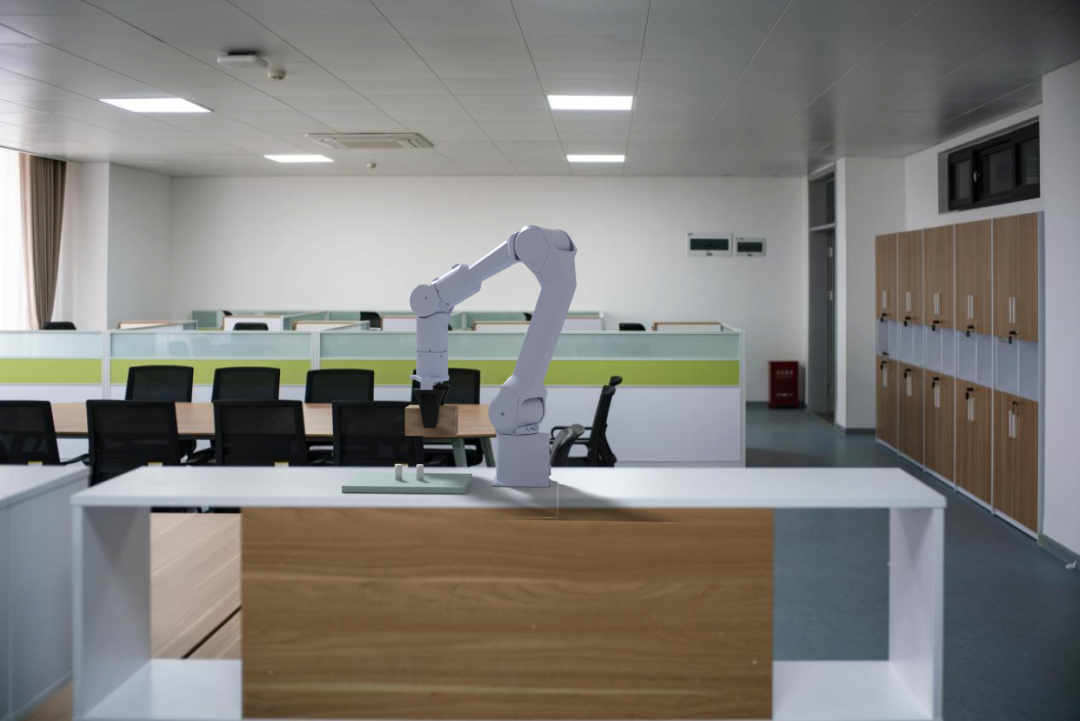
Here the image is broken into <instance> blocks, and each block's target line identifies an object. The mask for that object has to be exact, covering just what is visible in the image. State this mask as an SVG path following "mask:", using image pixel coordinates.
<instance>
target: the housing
mask: <svg viewBox="0 0 1080 721" xmlns="http://www.w3.org/2000/svg"><path fill="white" fill-rule="evenodd" d="M458 433H459V406H458V405H456V404H455V405H445V404H444V405H440V408H439V414H438V421H437V425H436V428H424V426H423V422H422V417H421V411H420V407H419V404H409V405H407V406H406V407H404V436H405V437H406V436H407V437H410V436H411V437H416V436H417V437H456V436H457V435H458Z"/></svg>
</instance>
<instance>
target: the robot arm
mask: <svg viewBox="0 0 1080 721" xmlns="http://www.w3.org/2000/svg"><path fill="white" fill-rule="evenodd" d="M577 252H578V248H577V247H576V245H575V243H574V241H573V238H572V237H571V236H570V235H569V234H568V232H566V230H565V231H564V230H563V229H557V228H556V229H553V228H547V227H541V226H539V225H533V224H530V225H527V226H524V227H522V228H521V229H520V230H519V231H516V232H514V233H511V234H510V235H509V237H508V238H507V239H506V240H504V241H503V242H502V243H501V244H499V245H498V246H497V247H495V248H494V249H493V250H491V251H489V253H487V254H486V255H484V256H482V257H481V258H480V259H479V260H477V261H475V263H473V264H468V263H455V264H453V265H451V267H450V268H451V270H450V271H448V272H446V273H445V274H443V275H442V276H440V277H435V278H433V279H432V282H431V284H427V283H420V284H417V286H416V287H414V289H413V290H412V292H411V294H410V296H409V306H410V308H411V311H412V312H413V313H414V315H416V322H415V323H416V325H415V326H416V327H415V328H416V331H415V332H416V335H415V336H416V340H415V341H416V343H415V344H416V367H415V368H416V370H415V371H416V373H415V374H411V375H410V376H409V379H410V380H415V381H417V382H419V383H420V386H419V387H418V388H417V387H416V388H415V387H414V388H413V389H412V392H413V395H414V397H415V399H416V401H417V405H419V407H420V411H421V417H422V422H423V426H424V428H436V425H437V421H438V414H439V408H440V405H445V402H446V398H447V397H448V393H449V391H450V389H451V384H443V383H444V382H446V381H449V380H450V375H449V324H450V321H451V320H450V318H451V314H452V313H453V311H454V309H455V307H457V305H459V304H460V303H462V302H464V301H466V300H467V299H469V298H471V297H473V296H474V295H475V294H478V293H479V292H480V291H481V288H482V283H483V282H484V281H486V280H487V279H490V278H492V277H493V276H495V275H497V274H499V273H501V272H502V271H505V270H506V269H509V268H510V267H512V266H513V265H516V264H518V263H523V264H524V265H525V267H526V268H527V269H528V270H529V271H530V272H532V274H533V275H534V277H535V278H536V279H537V282H538V283H539V284H538V285H540V288H541V289H540V292H539V295H538V298H537V300H536V303H535V304H536V305H535V307H534V310H533V313H532V317H531V318H530V322H529V324H528V326H527V327H528V328H527V331H526V334H525V336H524V340H523V343H522V346H521V348H520V352H519V354H518V358H517V360H516V362H515V363H516V364H515V366H514V370H513V372H512V374H511V375H510V377H508V378H507V380H506V381H505V382H503V383H502V385H501V387H500V389H499V392H498V394H497V395H496V396H495V397H494V398H493V399H492V400H491V401H490V403H489V406H488V409H487V412H488V413H487V414H488V419H489V422H490V424H491V426H493V428H494V430H495V431H494V433H495V434H496V442H495V444H496V446H495V447H496V450H495V453H496V457H495V460H496V461H495V462H496V463H495V464H496V466H495V467H496V470H495V472H496V473H495V474H496V475H495V476H494V478H493V482H492V484H491V485H492V487H503V488H504V487H511V488H513V487H515V488H517V487H518V488H519V487H521V488H523V487H525V488H530V487H531V488H549V487H550V476H552V464H550V433H549V432H539V430H540V424H541V423H542V422H543V421H544V419H545V416H546V415H547V414H546V413H547V409H546V407H547V406H546V400H547V396H548V394H549V391H548V390H547V388H546V386H545V384H544V382H545V378H546V376H547V373H548V370H549V368H550V365H551V361H552V359H553V356H554V352H555V349H556V347H557V344H558V341H559V338H560V336H561V332H562V330H563V327H564V324H565V321H566V318H567V315H568V312H569V310H570V306H571V304H572V301H573V298H574V295H575V292H576V290H577V273H576V263H575V262H576V261H575V259H576V255H577Z"/></svg>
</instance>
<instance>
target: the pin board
mask: <svg viewBox="0 0 1080 721" xmlns="http://www.w3.org/2000/svg"><path fill="white" fill-rule="evenodd" d="M424 468H425V467H424V464H421V463H420V464H418V463H417V464H416V471H415V472H403V464H402V463H396V464H394V470H395V471H394V472H381V471H380V472H377V471H376V472H374V471H373V472H365V471H364V472H362V471H361V472H360V471H359V472H357V473H356V474H354V475H353V476H352V477H351V478H350V479H348V480H347V481H346V482H344V483H343V484H342V485H341V493H389V494H390V493H391V494H393V493H396V494H397V493H400V494H401V493H403V494H407V493H408V494H466V492H467V490H468V489H469V487H470V484H471V482H472V481H473V473H459V472H458V473H453V472H452V473H451V472H449V473H445V472H425V469H424Z"/></svg>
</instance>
